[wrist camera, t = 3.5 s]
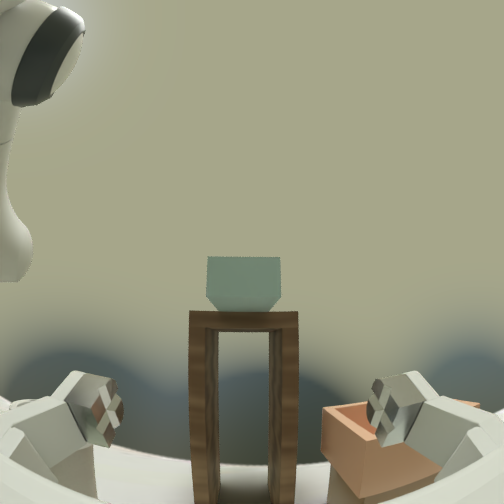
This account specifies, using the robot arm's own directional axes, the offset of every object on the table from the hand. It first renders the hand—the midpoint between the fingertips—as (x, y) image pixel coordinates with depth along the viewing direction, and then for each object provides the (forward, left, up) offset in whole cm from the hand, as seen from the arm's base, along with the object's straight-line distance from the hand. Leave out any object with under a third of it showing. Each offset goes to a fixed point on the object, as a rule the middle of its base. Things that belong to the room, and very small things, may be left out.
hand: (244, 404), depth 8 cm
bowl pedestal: (-1, +21, -21) cm, 30 cm away
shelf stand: (-17, +17, -21) cm, 32 cm away
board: (-14, +14, +5) cm, 20 cm away
